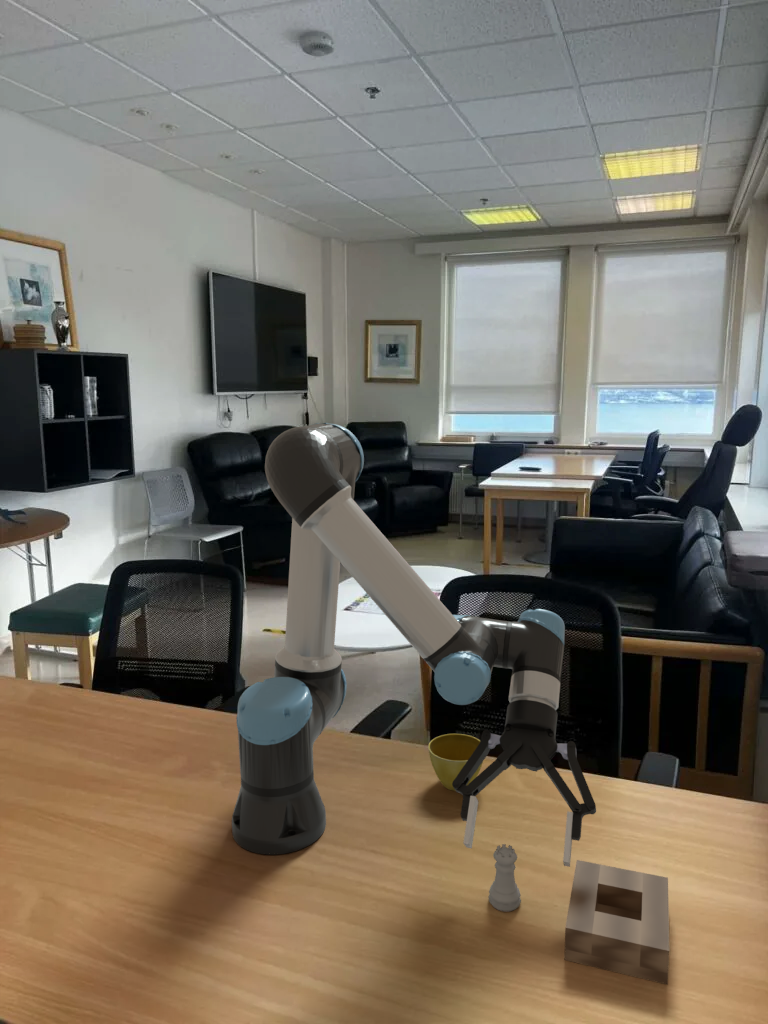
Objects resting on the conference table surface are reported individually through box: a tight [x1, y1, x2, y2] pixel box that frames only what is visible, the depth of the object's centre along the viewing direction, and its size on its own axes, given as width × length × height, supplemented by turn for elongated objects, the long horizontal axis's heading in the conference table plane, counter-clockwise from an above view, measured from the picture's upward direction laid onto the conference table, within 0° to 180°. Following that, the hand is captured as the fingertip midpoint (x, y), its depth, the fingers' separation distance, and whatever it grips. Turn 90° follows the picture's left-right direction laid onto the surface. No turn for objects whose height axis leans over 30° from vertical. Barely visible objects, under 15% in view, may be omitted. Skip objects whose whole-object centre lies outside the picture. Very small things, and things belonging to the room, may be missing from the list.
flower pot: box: [427, 733, 484, 792], centre depth 133 cm, size 10×10×7 cm
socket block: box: [563, 859, 670, 985], centre depth 97 cm, size 12×14×4 cm
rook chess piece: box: [488, 843, 522, 913], centre depth 103 cm, size 4×4×8 cm
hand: (515, 855), depth 103 cm, fingers open, 13 cm apart
